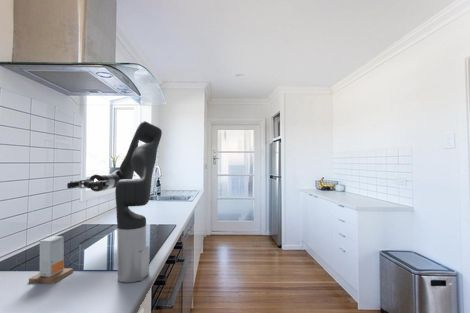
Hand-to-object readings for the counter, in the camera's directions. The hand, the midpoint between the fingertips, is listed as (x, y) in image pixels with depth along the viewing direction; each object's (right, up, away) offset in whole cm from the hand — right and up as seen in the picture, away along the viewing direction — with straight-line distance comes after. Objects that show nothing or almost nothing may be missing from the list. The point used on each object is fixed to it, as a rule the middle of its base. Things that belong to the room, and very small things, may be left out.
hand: (78, 185), depth 109 cm
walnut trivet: (-1, -30, -14) cm, 33 cm away
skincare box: (-1, -29, -14) cm, 32 cm away
